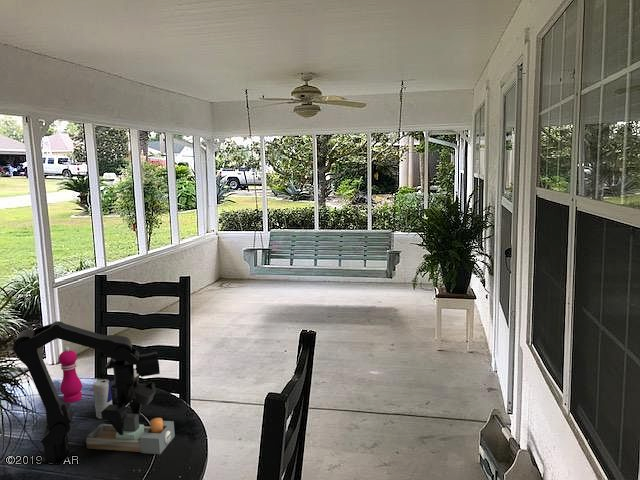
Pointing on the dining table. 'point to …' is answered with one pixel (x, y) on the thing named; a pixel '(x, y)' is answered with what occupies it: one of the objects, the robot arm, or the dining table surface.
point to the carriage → (131, 428)
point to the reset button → (156, 425)
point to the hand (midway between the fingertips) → (129, 426)
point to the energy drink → (102, 395)
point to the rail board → (111, 440)
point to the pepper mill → (70, 377)
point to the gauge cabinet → (157, 439)
